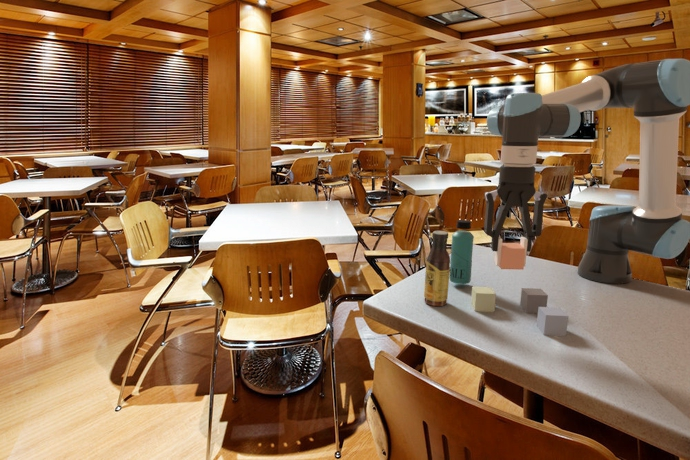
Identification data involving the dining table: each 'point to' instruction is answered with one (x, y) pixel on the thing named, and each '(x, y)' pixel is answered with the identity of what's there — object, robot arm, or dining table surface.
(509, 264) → the cube terracotta
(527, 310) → the cube charcoal
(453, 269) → the beverage bottle
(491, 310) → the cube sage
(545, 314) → the cube slate
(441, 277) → the sauce bottle
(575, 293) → the dining table surface
